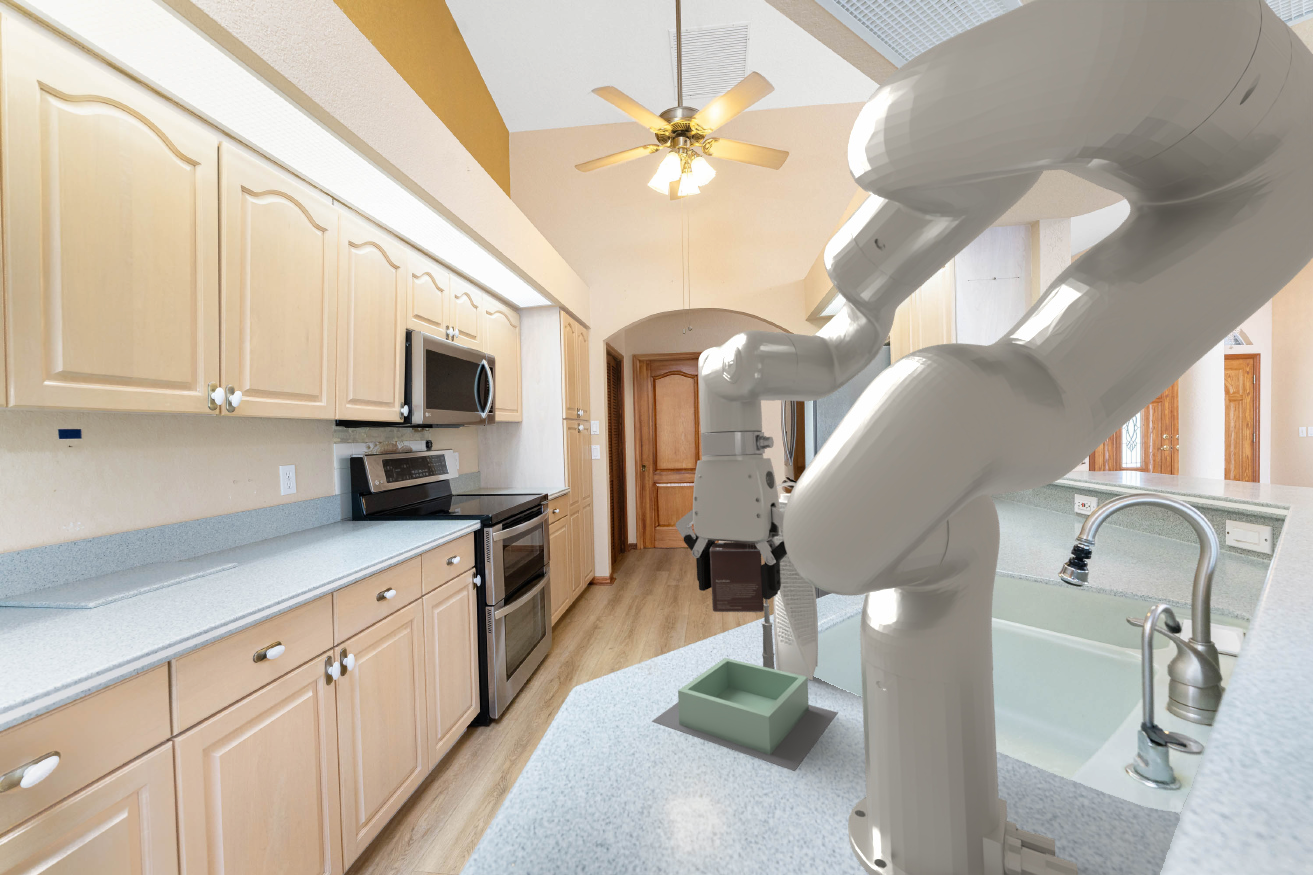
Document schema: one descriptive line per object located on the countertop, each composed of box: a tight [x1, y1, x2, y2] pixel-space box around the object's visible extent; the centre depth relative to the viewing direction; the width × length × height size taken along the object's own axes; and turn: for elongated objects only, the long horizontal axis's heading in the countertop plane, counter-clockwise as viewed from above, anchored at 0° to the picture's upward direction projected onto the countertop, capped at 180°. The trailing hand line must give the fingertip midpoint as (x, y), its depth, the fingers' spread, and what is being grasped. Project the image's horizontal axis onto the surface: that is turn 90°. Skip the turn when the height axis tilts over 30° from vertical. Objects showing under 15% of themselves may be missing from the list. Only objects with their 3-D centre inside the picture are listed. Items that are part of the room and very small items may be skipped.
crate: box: [677, 657, 810, 755], centre depth 64 cm, size 12×12×4 cm
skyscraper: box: [761, 481, 819, 681], centre depth 77 cm, size 8×8×28 cm
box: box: [710, 541, 765, 613], centre depth 64 cm, size 6×6×7 cm
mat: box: [651, 701, 839, 772], centre depth 64 cm, size 18×14×1 cm
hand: (737, 591), depth 64 cm, fingers closed on box, 7 cm apart
